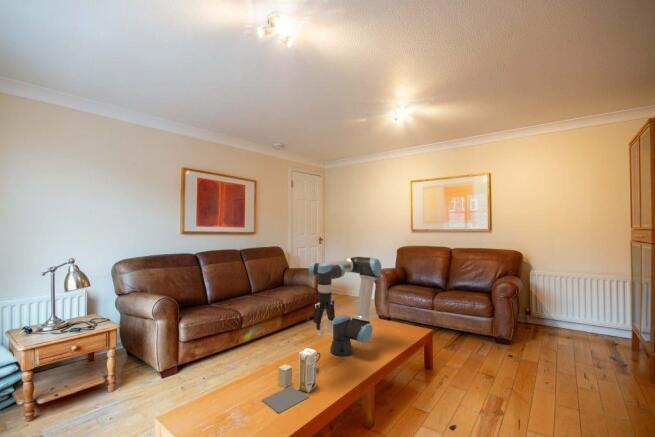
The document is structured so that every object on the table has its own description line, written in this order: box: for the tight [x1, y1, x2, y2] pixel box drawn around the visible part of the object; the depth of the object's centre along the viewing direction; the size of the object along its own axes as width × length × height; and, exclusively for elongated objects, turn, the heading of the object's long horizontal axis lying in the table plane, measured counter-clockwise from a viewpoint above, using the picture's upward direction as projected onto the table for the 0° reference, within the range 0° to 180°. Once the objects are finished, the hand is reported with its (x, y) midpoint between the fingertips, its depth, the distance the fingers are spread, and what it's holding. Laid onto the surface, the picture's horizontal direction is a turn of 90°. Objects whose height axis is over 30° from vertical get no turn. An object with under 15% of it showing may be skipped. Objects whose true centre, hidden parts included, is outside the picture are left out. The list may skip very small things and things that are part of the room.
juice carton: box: [298, 347, 317, 393], centre depth 155 cm, size 8×9×19 cm
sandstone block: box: [277, 363, 293, 389], centre depth 158 cm, size 5×5×9 cm
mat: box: [261, 385, 310, 415], centre depth 145 cm, size 18×14×1 cm
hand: (324, 333), depth 163 cm, fingers open, 7 cm apart
